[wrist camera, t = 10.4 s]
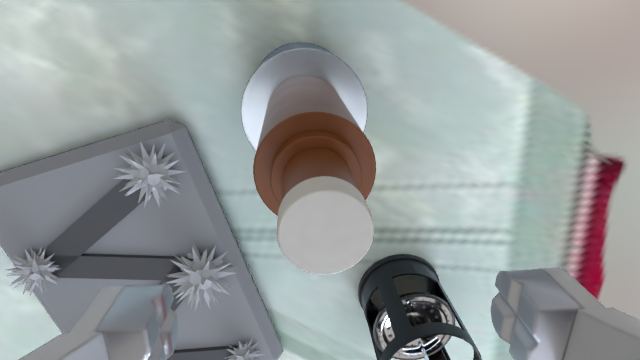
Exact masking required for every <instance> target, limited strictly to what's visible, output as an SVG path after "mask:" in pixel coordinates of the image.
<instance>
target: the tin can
mask: <svg viewBox="0 0 640 360" xmlns="http://www.w3.org/2000/svg"><path fill="white" fill-rule="evenodd" d="M303 75H306V76H314V77H317V78H320V79H322V80H324V81H326V82H327V83H329V84H330V85H331V86H332V87H333V88H334V89H335V90H336V91H337V93H338V95H339V96H340V98H341V99H342V101H343V102H344V104H345V105H346V107H347V108H348V110H349V111H350V113H351V114H352V116H353V118H354V119H355V121H356V122H357V124H358V125H359V127H360V128H361V130H362V131H363V132H364V130H365V126H366V122H367V100H366V95H365V92H364V89H363V87H362V84H361V82H360V80H359V79H358V77H357V76H356V74H355V73H354V72H353V70H352V69H351V68H350V67H349V66H348V65H347V64H346V63H345V62H343V61H342V60H340V59H339V58H338V57H336V56H334V55H333V54H331V53H330V52H329V51H327V50H326V49H324V48H322V47H320V46H317V45H314V44H310V43H301V42H299V43H291V44H287V45H284V46H281V47H279V48H278V49H276V50H274V51H273V52H271V53H270V54H269V55H268V56H267V57H266V58H265V59H264V60H263V62H262V63H261V64H260V66H259V68H258V69H257V70H256V71H255V72H254V74H253V75H252V76H251V78H250V80H249V81H248V83H247V86H246V88H245V90H244V94H243V98H242V104H241V118H242V124H243V128H244V132H245V134H246V136H247V139H248V140H249V142H250V144H251V145H252V147H253V148H254V149H255V151H257V146H258V142H259V138H260V134H261V130H262V126H263V121H264V117H265V113H266V109H267V105H268V101H269V99H270V97H271V95H272V93H273V92H274V90H275V89H276V88H277V87H278V86H279V85H280V84H281V83H283V82H284V81H286V80H288V79H290V78H293V77H296V76H303Z"/></svg>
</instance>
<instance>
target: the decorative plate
mask: <svg viewBox="0 0 640 360" xmlns="http://www.w3.org/2000/svg"><path fill="white" fill-rule="evenodd" d="M0 246H1V247H2V248H3V250H4V251H5V253H6V254H7V255H8V257H9V258H10V259H9V260H11V261H12V263H13V264H14V266H15V267H16V268H14V269H8V270H10V271H13V273H9V274H11V275H7V276H18V275H21V276H20V277H19V278H18V279H16V280H15V281H14V282H12V284H14V283H16V282H18V281H20V280H22V279H23V280H22V281H21V282H20V283H19V284H18V285H17V286H15V287H14V288H16V287H18V286H20V285H22V284H24V283H25V282H27V283H26V286H25V289H24V292H25V291H26V290H27V288H28V290H30V289H31V291H30V295H31V293H32V291H33V292H34V294H35V295H36V297H37V298H38V300H39V301H40V302H41V304H42V305H43V307H44V308H45V309H46V311H47V312H48V314H49V315H50V317H51V318H52V319H53V321H54V322H55V324H56V325H57V327H58V328H59V329H60V331H61V332H62V334H64V333H70V331H71V330H72V328H73V327H74V326H75V324H76V323H77V321H78V320H79V319H80V317H81V316H82V314H83V313H84V312H85V310H86V309H87V307H88V306H89V305H90V303H91V302H92V300H93V299H94V297H95V296H96V295H97V293H98V292H99V290H100V289H101V288H103V287H105V286H118V285H125V286H127V285H161V284H169V285H170V286H171V287H172V292H173V297H174V300H173V302H172V305H171V307H170V308H171V309H172V310H173V311H174V312H175V313H176V314H177V321H178V335H177V342H176V346H175V349H174V353H173V355H171V356H170V357H169V358H168V359H167V360H278V358H279V357H280V355H281V354H282V352H283V348H282V346H281V343H280V341H279V339H278V337H277V334H276V332H275V330H274V327H273V325H272V323H271V320H270V318H269V316H268V314H267V311H266V309H265V307H264V304H263V302H262V300H261V298H260V295H259V293H258V291H257V288H256V286H255V284H254V282H253V279H252V277H251V275H250V272H249V270H248V268H247V266H246V263H245V261H244V259H243V256H242V254H241V252H240V250H239V247H238V245H237V243H236V240H235V238H234V236H233V234H232V231H231V229H230V227H229V224H228V222H227V220H226V218H225V215H224V213H223V211H222V208H221V206H220V204H219V201H218V199H217V197H216V195H215V192H214V190H213V188H212V185H211V183H210V181H209V179H208V176H207V174H206V172H205V169H204V167H203V165H202V163H201V160H200V158H199V156H198V153H197V151H196V149H195V147H194V144H193V142H192V140H191V137H190V135H189V133H188V131H187V128H186V126H184V125H182V124H180V123H177V122H175V121H173V120H171V119H169V120H166V121H163V122H160V123H156V124H153V125H150V126H147V127H144V128H140V129H137V130H134V131H131V132H128V133H125V134H121V135H118V136H115V137H112V138H109V139H105V140H102V141H99V142H96V143H93V144H89V145H86V146H83V147H80V148H77V149H74V150H70V151H67V152H64V153H61V154H58V155H54V156H51V157H48V158H45V159H42V160H38V161H35V162H32V163H29V164H26V165H23V166H19V167H16V168H13V169H10V170H7V171H3V172H0ZM12 284H11V285H12ZM14 288H13V289H14ZM28 290H27V291H28ZM24 292H23V294H24ZM28 292H29V291H28Z"/></svg>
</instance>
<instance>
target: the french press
mask: <svg viewBox="0 0 640 360" xmlns="http://www.w3.org/2000/svg"><path fill="white" fill-rule="evenodd" d="M403 275H420V276H424V277H426V278H427V281H428V288H429V289H428V293H425V292H411V293H406V294H402V295H399V293H398V291H397V288H396V286H395V283H394V281H393V278H395V277H398V276H403ZM377 288H379V291H380V294H381V297H382V300H383V303H384V306H383V307H382V308H381V310H380V311H379V310H378V309H377V308H375V307H374V305H373V304H372V302H371V299H370V297H371V296H372V294H373V293H374V291H375V290H376V289H377ZM358 296H359V301H360V304H361V307H362V308H363V310H364V313H365V317H366V320H367V323H368V326H369V330H370V334H371V338H372V341H373V345H374V349H375V353H376V357H377V360H391V358H395V359H399V360H417V359H422V358H424V359H425V360H450V357H449V355H448V353H447V351H446V349H445V347H444V346H445V345H446V344H447V342H448V341H449V340H450V338H451V336H455V337H458V338H461V339H463V340H465V341H466V342H468V343H470V344H471V345H472V346H473V349H474V359H473V360H482V359H481V355H480V353H479V351H478V349H477V347H476V346H475V344H474V342H473V340H472V339H471V337H470V335H469V333H468V332H467V330H466V328H465V326H464V325H463V323H462V321H461V319H460V318H459V316H458V314H457V312H456V310H455V309H454V307H453V305H452V303H451V302H450V300H449V298H448V296H447V295H446V293H445V291H444V289H443V288H442V286H441V284H440V282H439V278H438V275H437V273H436V271H435V270H434V268H433V267H432V266H431V265H430V264H429V263H428V262H426V261H425V260H423V259H421V258H419V257H416V256H412V255H394V256H390V257H387V258H384V259H382V260H380V261H378V262H377V263H375V264H374V265H373V266H371V267H370V268H369V269H368V270H367V271H366V273H365V274H364V276H363V277H362V279H361V282H360V285H359V290H358ZM455 318H456V320H457V321H458V323H459V325H460V327H461V328H459V327H457V326H455Z"/></svg>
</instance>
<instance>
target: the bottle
mask: <svg viewBox="0 0 640 360" xmlns="http://www.w3.org/2000/svg"><path fill="white" fill-rule="evenodd" d="M253 174H254V182H255V185H256V189H257V191H258V193H259V195H260V197H261V199H262V200H263V202H264V203H265V204H266V206H267V207H268V208H269V209H270V210H271V211H272V212H273V213H275V214H276V215H277V216H278V219H277V241H278V244H279V247H280V249H281V251H282V253H283V255H284V256H285V257H286V258H287V260H288V261H289V262H290V263H292V264H293V265H294V266H296V267H297V268H299V269H301V270H303V271H305V272H308V273H312V274H319V275H328V274H335V273H339V272H342V271H344V270H347V269H349V268H351V267H352V266H354V265H355V264H356V263H358V262H359V261H360V260H361V259H362V258H363V257H364V256H365V254H366V253H367V251H368V250H369V248H370V246H371V243H372V240H373V236H374V223H373V218H372V215H371V213H370V210H369V208H368V206H367V203H366V201H365V200H366V199H367V197H368V195H369V193H370V192H371V189H372V187H373V184H374V180H375V174H376V162H375V155H374V152H373V149H372V147H371V144H370V142H369V141H368V139H367V137H366V136H365V134H364V133H363V131H362V130H361V128H360V127H359V125H358V124H357V122H356V121H355V119H354V118H353V116H352V114H351V113H350V111H349V110H348V108H347V107H346V105H345V104H344V102H343V101H342V99H341V98H340V96H339V95H338V93H337V91H336V90H335V89H334V88H333V87H332V86H331V85H330V84H329V83H327V82H326V81H324V80H322V79H320V78H317V77H314V76H306V75H303V76H296V77H293V78H290V79H288V80H286V81H284V82H283V83H281V84H280V85H279V86H278V87H277V88H276V89H275V90H274V92H273V93H272V95H271V97H270V99H269V101H268V105H267V109H266V113H265V117H264V121H263V126H262V130H261V134H260V138H259V142H258V146H257V151H256V155H255V159H254V166H253Z"/></svg>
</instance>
